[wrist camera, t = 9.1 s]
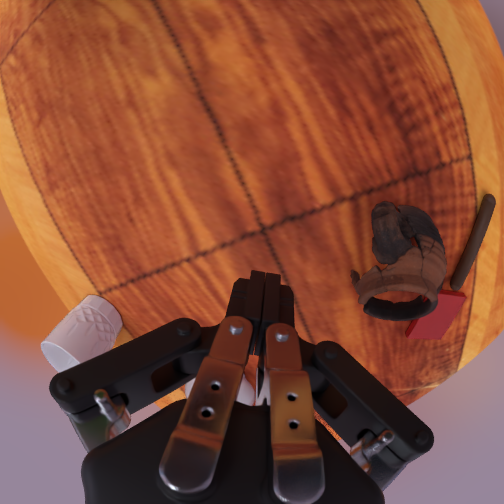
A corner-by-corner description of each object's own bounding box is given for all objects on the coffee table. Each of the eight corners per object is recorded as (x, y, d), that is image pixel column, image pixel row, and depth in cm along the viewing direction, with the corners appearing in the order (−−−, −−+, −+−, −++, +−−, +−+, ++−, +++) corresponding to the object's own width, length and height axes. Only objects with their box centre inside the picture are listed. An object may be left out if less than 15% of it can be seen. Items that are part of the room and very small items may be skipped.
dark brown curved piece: (447, 245, 23) (454, 318, 19) (372, 262, 30) (367, 329, 25) (416, 157, 17) (435, 243, 13) (319, 193, 24) (305, 272, 19)
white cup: (96, 281, 29) (51, 334, 21) (137, 326, 32) (104, 384, 23) (72, 302, 32) (34, 348, 23) (108, 340, 35) (78, 390, 26)
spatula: (470, 183, 19) (479, 188, 18) (501, 199, 19) (510, 204, 18) (404, 333, 28) (408, 342, 27) (438, 334, 28) (442, 342, 27)
